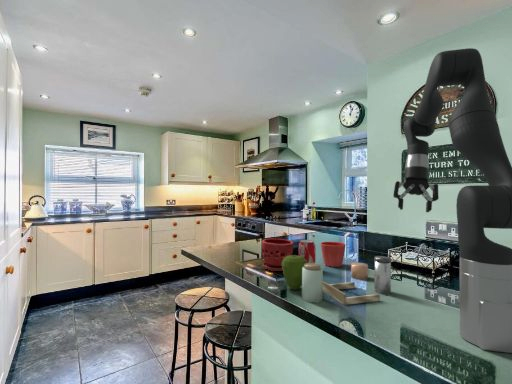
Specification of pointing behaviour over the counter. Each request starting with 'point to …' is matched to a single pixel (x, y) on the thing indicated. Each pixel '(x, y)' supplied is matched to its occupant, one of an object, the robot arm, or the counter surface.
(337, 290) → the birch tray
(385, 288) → the steel canister
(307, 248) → the soda can
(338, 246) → the flower pot
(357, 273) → the terracotta tin
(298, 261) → the green bell pepper
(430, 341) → the counter surface
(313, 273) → the sage jar
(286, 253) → the plant pot
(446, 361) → the counter surface
